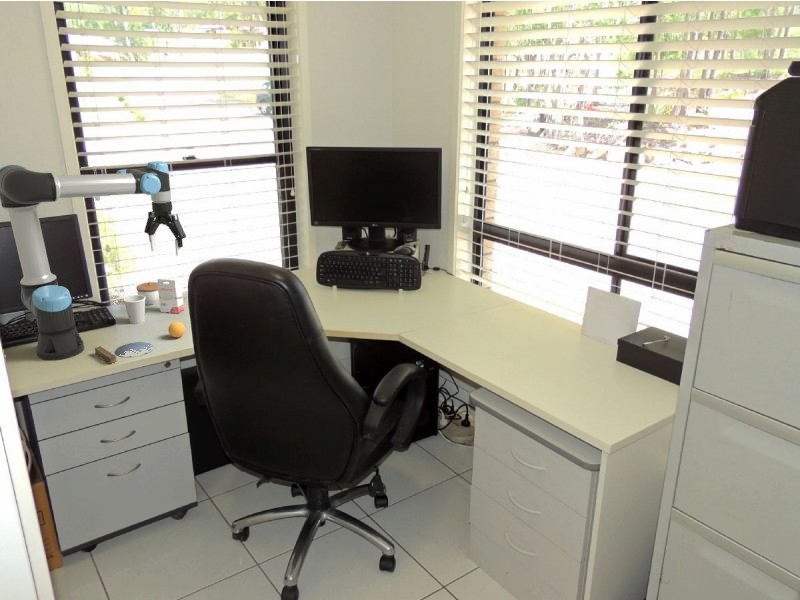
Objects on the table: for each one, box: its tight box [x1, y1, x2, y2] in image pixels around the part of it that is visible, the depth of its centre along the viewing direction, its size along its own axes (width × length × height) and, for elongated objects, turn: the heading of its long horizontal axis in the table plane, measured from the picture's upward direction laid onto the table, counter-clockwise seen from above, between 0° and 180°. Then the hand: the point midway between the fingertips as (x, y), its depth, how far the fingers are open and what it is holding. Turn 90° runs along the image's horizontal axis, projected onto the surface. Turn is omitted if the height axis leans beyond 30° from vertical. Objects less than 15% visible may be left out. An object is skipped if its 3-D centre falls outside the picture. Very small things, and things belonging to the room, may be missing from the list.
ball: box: [167, 321, 186, 338], centre depth 238 cm, size 6×6×6 cm
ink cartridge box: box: [157, 278, 185, 314], centre depth 263 cm, size 9×5×15 cm, turn 80°
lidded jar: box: [136, 281, 160, 306], centre depth 273 cm, size 11×11×9 cm
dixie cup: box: [122, 294, 146, 325], centre depth 251 cm, size 8×8×10 cm
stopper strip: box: [94, 346, 117, 365], centre depth 219 cm, size 2×12×2 cm, turn 48°
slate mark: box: [115, 341, 154, 356], centre depth 227 cm, size 13×13×1 cm
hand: (167, 252), depth 255 cm, fingers open, 13 cm apart
